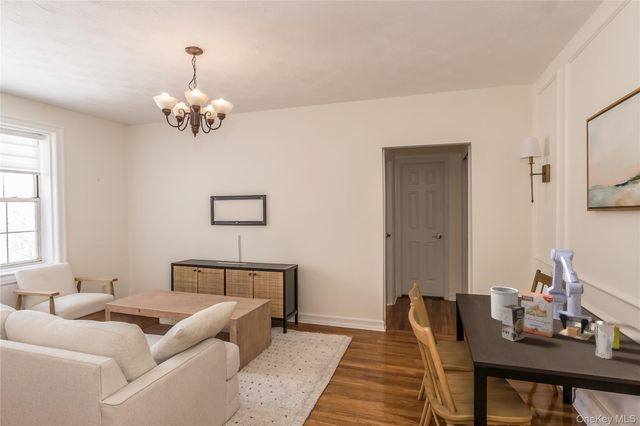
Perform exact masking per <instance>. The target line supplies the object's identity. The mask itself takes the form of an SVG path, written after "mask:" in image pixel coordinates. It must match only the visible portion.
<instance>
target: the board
mask: <svg viewBox="0 0 640 426" xmlns="http://www.w3.org/2000/svg"><path fill="white" fill-rule="evenodd" d="M576 326H578V327H580V334H579V335H578V336H577V337H576V336H572V335H568V334H567V328H568V327H569V325H567V328H566V329H565V330H564V328H563V329H562V330H561V331H559V332H557V334H558V335H562V336H564V337H569V338H574V339H579V340H582V341H585V342H587V341H588V340H589V339H590V338H591V337H592V336H593V335H594V327H595V322H594V323H593V322H591V331H590V332H585V330H584V333H583V334H581V323H578V322H575V327H576ZM594 336H595V335H594Z"/></svg>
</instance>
